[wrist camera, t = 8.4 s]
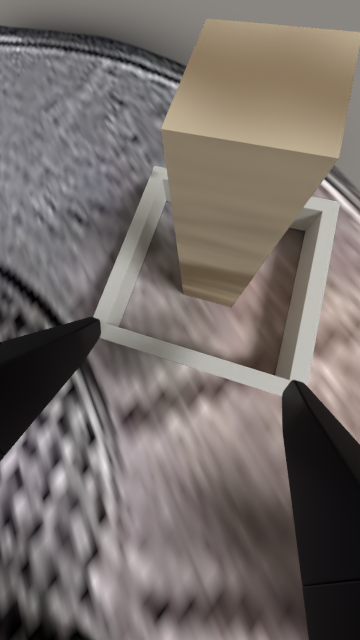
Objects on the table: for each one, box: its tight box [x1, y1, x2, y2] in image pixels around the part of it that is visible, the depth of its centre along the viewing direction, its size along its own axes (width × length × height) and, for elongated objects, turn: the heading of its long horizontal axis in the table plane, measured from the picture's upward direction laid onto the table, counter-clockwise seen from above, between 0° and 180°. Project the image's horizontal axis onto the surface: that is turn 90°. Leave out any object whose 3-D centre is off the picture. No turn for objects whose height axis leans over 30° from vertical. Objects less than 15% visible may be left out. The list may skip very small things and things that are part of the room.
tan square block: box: [161, 19, 360, 307], centre depth 12 cm, size 4×4×13 cm
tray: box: [93, 166, 340, 396], centre depth 17 cm, size 16×16×2 cm
